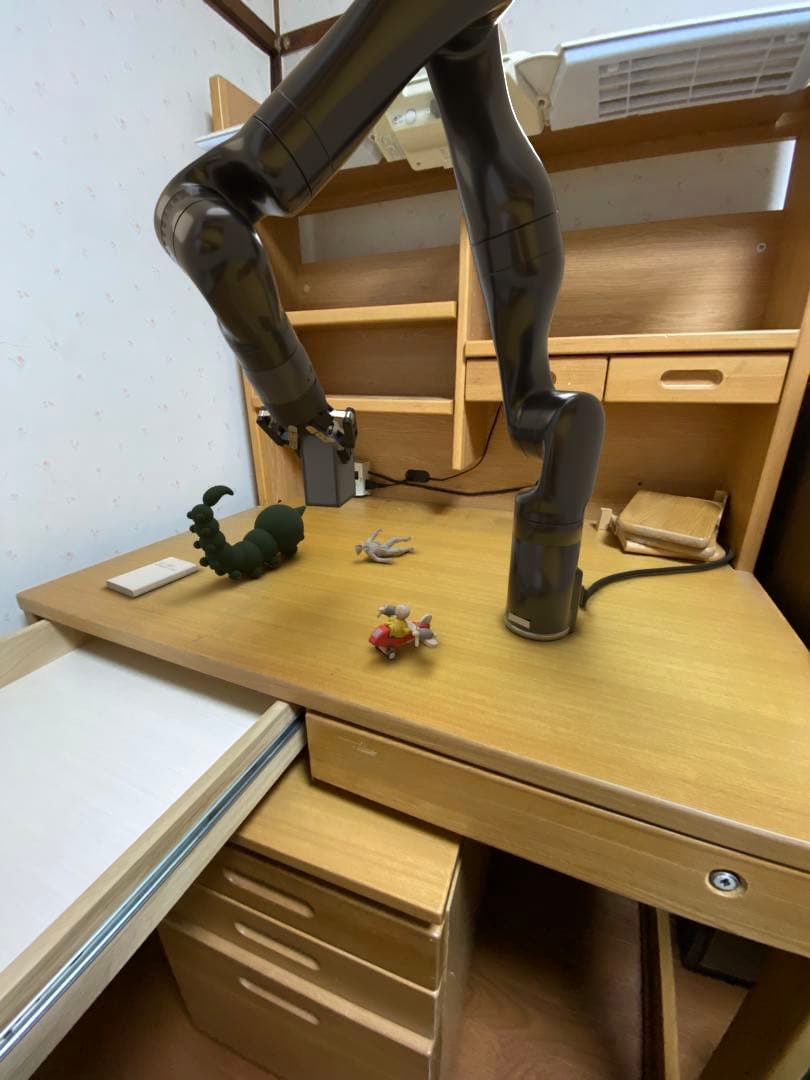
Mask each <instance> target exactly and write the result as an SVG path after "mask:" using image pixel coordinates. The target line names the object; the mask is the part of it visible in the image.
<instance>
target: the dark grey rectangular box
mask: <svg viewBox="0 0 810 1080" xmlns="http://www.w3.org/2000/svg"><path fill="white" fill-rule="evenodd" d="M343 431H344V430H343ZM326 433H327V431H326ZM336 439H338V436H336ZM299 441H300V452H301V459H300V463H301V471H302V482H303V483H302V484H303V493H304V504H305V505H304V506H306V507H314V508H315V507H316V508H335V509H340V508H341V507H343V506H344V505H345V504H347V503H348V502H349V501H350V500H352V499H353V498H354V497H356V496H357V487H356V468H355V466H356V465H355V451H354V450H355V448H353V449H351V450H352V455H351V459H350V461H348V464H343V463H342V461H341V460H340V458H339V456H338V454H337V452H336V448H334V447H333V446H332V445H331V444H330V443H329V444H325V443H324V442H323V441H322V440H321V439H320V438H318V437H317V436H311V435H310V436H300V435H299Z"/></svg>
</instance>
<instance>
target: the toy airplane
mask: <svg viewBox="0 0 810 1080" xmlns="http://www.w3.org/2000/svg"><path fill="white" fill-rule="evenodd" d="M410 613H411V609H410V607H409V606H408V605H407V604H403V603H402V604H398V605H397V606H395V605H391V603H390V602H388V603H387V604H386V605H383V606H381V607H379V608H378V613H377V614H376V618H377V619H379V618H381V616H382V615H384V616H386V617H388V622H383V624H382V623H381V624H380V625H378V626H377V627H376V628H375V629H374V630H373V631H372V633H371V634H370V636H369V637H368V643H370V644H371V645H372V646H374V649H375V650H377V651H382V652H383V653H384V654H385V658H386V659H387V660H388V661H389V660H390V661H393V660H394V659H395V658H396V657H397V652H396V650H395V649H393V648H397V647H400V646H402V645H403V644H406V643H409V642H410V641H412V640H414V646H415V647H416V648H418V647H419V646H420V642H422V643H423V644H424V645H425V646H427V647H429V648H431V649H437V648H438V644H439V643H438V641H437V640H436V639H437V636H438V634H437V633H435V632H434V631H433V630H431V623H432V619H433V615H432V614H431V613H426V614H425V615H423V616H422V617H421V618H420V619H419V621H418V620H415V621H410V620H409V619H408V618H409V617H410V615H411V614H410Z"/></svg>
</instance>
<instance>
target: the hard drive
mask: <svg viewBox="0 0 810 1080" xmlns="http://www.w3.org/2000/svg"><path fill="white" fill-rule="evenodd" d="M197 571H199V570H198V565H197V564H196V563H195V562H190V561H187V560H184V559H180V558H177V557H174V556H170V557H169V556H168V557H167V558H164V559H161V560H158V561H155V562H152V563H150V564H147V565H145V566H142V567H139V568H136V569H134V570H131V571H128V572H126V573H123V574H120V575H118V576H114V577H112V578H108V579H106V580H105V584H106V587H107V588H108V589H109V590H112V591H115V592H116V593H117V592H118V593H120V594H123V595H125V596H128V597H130V598H136V597H139V596H141V595H144V594H146V593H148V592H150V591H154V590H155V589H158V588H160V587H162V586H165V585H167V584H169V583H172V582H174V581H177V580H179V579H182V578H184V577H186V576H189V575H192V574H193V573H195V572H197Z"/></svg>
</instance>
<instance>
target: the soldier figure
mask: <svg viewBox="0 0 810 1080" xmlns="http://www.w3.org/2000/svg"><path fill="white" fill-rule="evenodd" d="M383 529H385V527H384V526H382V527H381V526H380V527H379V528H377V530H375V532H373V533H372V534H371V535H370V536H369V538H367V539H366V540H365V541H364V543H363V544H355V545H354V548H355V549H354V550H355V553H356V555H357V556H359V555H360V554H361V553H362V552H364V553H365V554H366V556H367V557H368V558H370V559H371V560H373V561H375V562H376V563H392V562H394V558H393V557H392V558H391V557H390V556H395V555H402V554H403V553H405V552H413V551H414V550H415V546H410V547H405V548H401V547H395V548H392V547H393V546H395V545H396V544H399V543H402V542H405V543H407V542H410V540H411V539H412V536H411V535H408V536H406V537H397V536H395V537H393V538H390V539H389V540H387V541H385V543H384V542H380V541H374V540H375V539H376V538H377V536H378V535H379V533H380V532H383ZM378 556H379V557H378ZM382 557H383V558H382ZM384 557H389V558H384Z"/></svg>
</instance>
